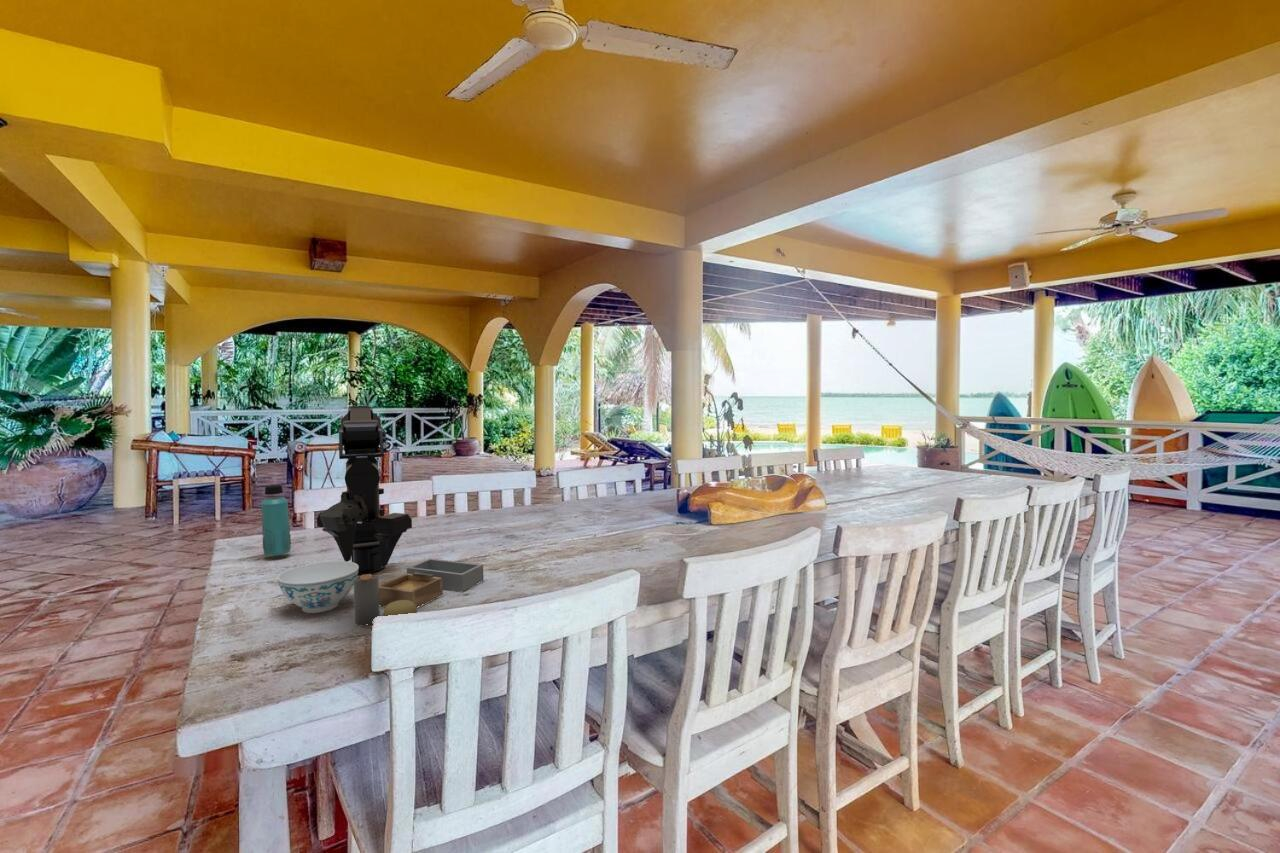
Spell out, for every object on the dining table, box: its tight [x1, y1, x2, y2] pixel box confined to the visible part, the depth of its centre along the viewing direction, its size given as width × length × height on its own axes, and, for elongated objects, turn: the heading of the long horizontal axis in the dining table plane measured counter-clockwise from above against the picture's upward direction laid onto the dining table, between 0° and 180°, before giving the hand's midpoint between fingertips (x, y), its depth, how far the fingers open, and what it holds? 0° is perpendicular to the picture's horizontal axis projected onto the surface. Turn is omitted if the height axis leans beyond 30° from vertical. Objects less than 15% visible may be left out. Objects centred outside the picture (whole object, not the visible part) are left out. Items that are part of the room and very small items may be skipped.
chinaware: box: [276, 560, 359, 614], centre depth 122 cm, size 15×15×8 cm
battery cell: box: [353, 573, 381, 626], centre depth 115 cm, size 4×4×9 cm
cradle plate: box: [391, 580, 428, 591], centre depth 126 cm, size 7×7×1 cm
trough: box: [406, 558, 485, 592], centre depth 137 cm, size 16×8×4 cm, turn 71°
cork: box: [382, 600, 420, 676], centre depth 96 cm, size 6×6×11 cm
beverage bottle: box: [260, 484, 292, 556], centre depth 158 cm, size 6×7×20 cm
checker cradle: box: [379, 572, 444, 607], centre depth 126 cm, size 10×10×4 cm
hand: (365, 563), depth 114 cm, fingers open, 9 cm apart
